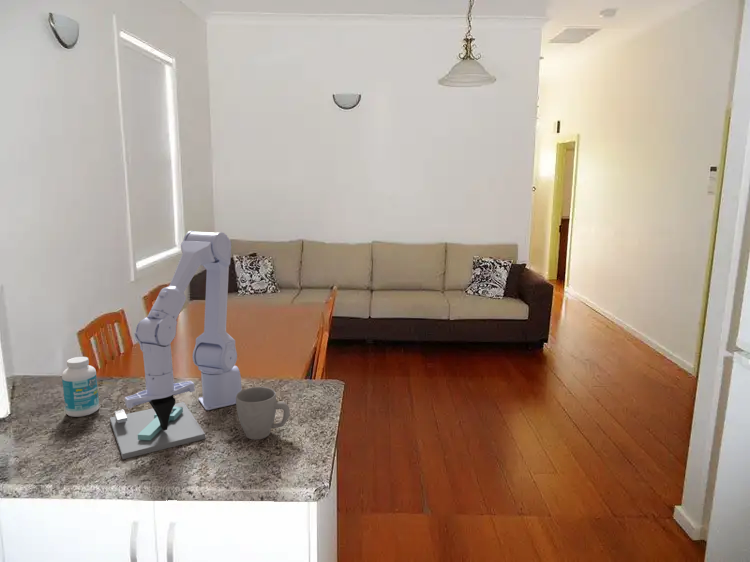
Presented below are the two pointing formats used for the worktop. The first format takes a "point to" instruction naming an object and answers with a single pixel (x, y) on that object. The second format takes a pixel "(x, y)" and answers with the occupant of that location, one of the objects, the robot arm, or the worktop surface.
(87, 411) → the pill bottle
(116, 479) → the worktop surface
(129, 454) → the board
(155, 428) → the link
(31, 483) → the worktop surface
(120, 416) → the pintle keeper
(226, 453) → the worktop surface
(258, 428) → the mug
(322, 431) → the worktop surface
